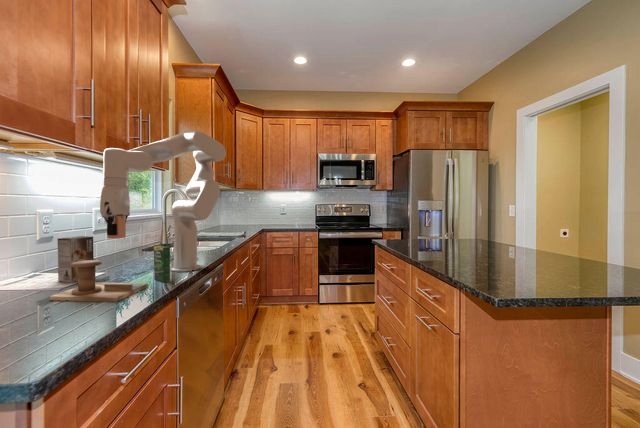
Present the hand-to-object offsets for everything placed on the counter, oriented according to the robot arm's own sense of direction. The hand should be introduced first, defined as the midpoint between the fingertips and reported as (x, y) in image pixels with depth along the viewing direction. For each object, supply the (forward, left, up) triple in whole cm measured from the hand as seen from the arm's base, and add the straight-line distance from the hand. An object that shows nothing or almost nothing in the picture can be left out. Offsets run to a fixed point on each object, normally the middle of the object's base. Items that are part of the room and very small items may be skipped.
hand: (116, 234), depth 113 cm
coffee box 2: (-7, +13, -18) cm, 23 cm away
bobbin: (+14, 0, -17) cm, 22 cm away
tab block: (0, 0, -1) cm, 1 cm away
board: (+11, +3, -18) cm, 22 cm away
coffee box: (-6, -19, -18) cm, 27 cm away
